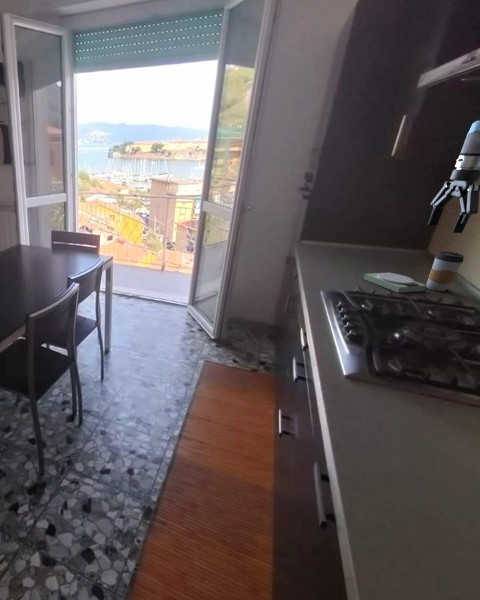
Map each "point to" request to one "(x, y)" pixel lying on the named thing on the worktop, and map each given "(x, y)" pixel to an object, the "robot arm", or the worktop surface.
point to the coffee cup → (444, 270)
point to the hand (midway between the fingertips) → (443, 228)
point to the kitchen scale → (395, 282)
